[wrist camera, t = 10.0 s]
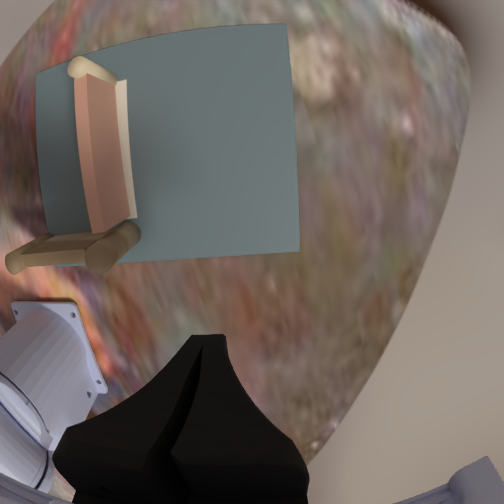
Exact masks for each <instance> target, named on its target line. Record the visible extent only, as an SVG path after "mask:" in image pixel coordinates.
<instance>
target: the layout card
mask: <svg viewBox="0 0 504 504" xmlns="http://www.w3.org/2000/svg"><path fill="white" fill-rule="evenodd" d="M82 57H84V58H86V59H88V60H90V61H92V62H94V63H96V64H98V65H100V66H102V67H103V68H105V69H107V70H109V71H111V72H113V73H114V74H116V75H117V78H118V81H117V84H116V85H115V92H116V107H117V119H118V130H119V139H120V148H121V156H122V164H123V172H124V179H125V185H126V192H127V198H128V204H129V210H130V215H131V216H130V217H128V218H127V219H125V220H123V221H122V222H120V223H118V224H117V225H115V226H114V227H112V228H110V229H109V230H112V229H113V230H114V229H116V228H118V227H119V226H121V225H122V224H124V223H126V222H133V223H135V224H137V225H138V227H139V228H140V230H141V239H140V241H139V242H138V243H137V244H136V245H135V246H134V247H132V248H131V249H130V250H129V251H128V252H127V253H126V254H125V255H124V256H123V257H122V258H121V259H120V260H118V261H117V262H116V263H129V262H145V261H160V260H175V259H191V258H206V257H221V256H236V255H251V254H266V253H281V252H296V251H300V237H299V199H298V173H297V152H296V134H295V118H294V104H293V90H292V78H291V66H290V55H289V45H288V35H287V26H286V24H259V25H237V26H224V27H213V28H204V29H196V30H189V31H182V32H176V33H170V34H165V35H159V36H154V37H150V38H145V39H140V40H136V41H132V42H128V43H124V44H120V45H116V46H113V47H109V48H106V49H102V50H99V51H96V52H93V53H90V54H87V55H84V56H82ZM70 62H71V60H69V61H67V62H64V63H61V64H59V65H56V66H54V67H51V68H49V69H47V70H44V71H42V72H40V73H37V74H36V101H35V114H36V143H37V157H38V169H39V178H40V186H41V194H42V201H43V207H44V214H45V219H46V225H47V230H48V233H51V234H53V235H54V236H59V235H67V234H76V233H85V232H92V229H91V224H90V219H89V214H88V209H87V204H86V198H85V192H84V186H83V179H82V172H81V165H80V157H79V148H78V139H77V128H76V114H75V95H74V77H71V76H69V74H68V72H67V68H68V65H69V63H70ZM82 265H86V263H75V264H61V265H55V266H56V267H66V266H82Z"/></svg>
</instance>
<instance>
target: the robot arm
mask: <svg viewBox="0 0 504 504" xmlns="http://www.w3.org/2000/svg"><path fill="white" fill-rule="evenodd" d="M11 308H12V311H13V314H14V316H15V319H16V322H17V323H16V324H14V325H13V326H12V327H11V328H10V329H9V330H8V331H7V332H6V333H5V334H4V335H3V336H2V337H1V338H0V504H308V499H307V490H308V485H309V473H308V470H307V467H306V464H305V462H304V460H303V458H302V456H301V454H300V453H299V451H298V449H297V448H296V446H295V444H294V443H293V441H292V440H291V439H290V438H289V437H287V436H286V435H285V434H284V433H282V432H281V431H280V430H279V429H278V428H277V427H276V426H275V425H274V424H272V423H271V422H270V421H269V420H268V419H267V418H266V416H265V415H264V414H263V413H262V412H261V411H260V410H259V408H258V407H257V406H256V405H255V404H254V402H253V401H252V400H251V398H250V397H249V396H248V394H247V393H246V391H245V390H244V388H243V386H242V385H241V383H240V381H239V379H238V377H237V375H236V374H235V371H234V369H233V367H232V364H231V362H230V359H229V357H228V349H227V342H226V336H225V335H223V334H211V335H191V336H190V337H189V339H188V340H187V341H186V342H185V344H184V345H183V346H182V347H181V348H180V350H179V351H178V352H177V353H176V355H175V356H174V357H173V358H172V359H171V360H170V361H169V362H168V364H167V365H166V366H165V367H164V368H163V369H162V370H161V371H160V372H159V373H158V374H157V375H156V376H155V377H154V378H153V379H152V380H151V381H150V382H149V383H147V384H146V385H145V386H144V387H143V388H141V389H140V390H139V391H137V392H136V393H135V394H133V395H132V396H130V397H129V398H127V399H126V400H124V401H123V402H121V403H120V404H118V405H117V406H115V407H113V408H111V409H109V410H108V411H106V412H104V413H102V414H100V415H98V416H95V417H93V418H91V419H88V420H86V421H85V419H86V417H87V415H88V413H89V411H90V409H91V407H92V405H93V403H94V401H95V399H96V397H97V395H98V393H103V394H105V393H107V391H108V387H107V385H106V383H105V380H104V378H103V376H102V373H101V371H100V368H99V366H98V364H97V361H96V358H95V356H94V353H93V351H92V348H91V345H90V342H89V340H88V337H87V334H86V331H85V328H84V325H83V322H82V319H81V316H80V313H79V310H78V307H77V305H76V304H75V303H74V302H35V301H13V302H12V303H11ZM72 312H73V313H74V314H75V315H74V314H73V313H72ZM52 450H55V451H54V453H53V454H52V453H51V451H52ZM55 467H56V469H57V470H58V472H59V473H60V474H61V475H62V476H63V477H64V478H65V479H66V480H67V482H68V483H69V484H70V485H71V486H72V487H73V488H74V489H75V490H76V492H75V495H74V498H73V501H72V503H71V502H68V501H65V500H63V499H60V498H57V497H54V496H52V495H49V494H47V493H48V492H49V490H50V488H51V486H52V484H53V481H54V477H55ZM394 504H504V482H503V481H502V479H501V477H500V475H499V474H498V472H497V470H496V469H495V467H494V465H493V464H492V462H491V460H490V459H489V457H488V456H485V457H483V458H481V459H479V460H477V461H475V462H473V463H471V464H469V465H467V466H465V467H463V468H462V469H460V470H459V471H457V472H456V473H455V474H454V475H453V476H452V477H451V478H450V480H449V482H448V483H447V484H444V485H442V486H440V487H437V488H435V489H432V490H430V491H428V492H425V493H423V494H420V495H417V496H415V497H412V498H409V499H406V500H403V501H400V502H397V503H394Z"/></svg>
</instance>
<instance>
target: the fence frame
mask: <svg viewBox="0 0 504 504" xmlns="http://www.w3.org/2000/svg"><path fill="white" fill-rule="evenodd" d="M140 239H141V230H140V228H139V227H138V225H137V224H135V223H133V222H126V223H124V224H122V225H121V226H119V227H118V228H116V229H114V230H113V229H112V230H107V231H106V232H101V233H95V234H92V232H85V233H76V234H67V235H59V236H54V235H53V234H51V233H46V234H44V235H42V236H40V237H38V238H37V239H35V240H33V241H31V242H29V243H27V244H25V245H23V246H21V247H20V248H18V249H16V250H14V251H12V252H10V253H9V254H7V255H6V257H5V265H6V267H7V269H8V271H9V272H10V273H11V274H14V275H16V274H18V273H19V272H21V271H22V270H24V269H25V268H27V267H31V266H46V265H61V264H75V263H86V265H87V266H88V268H89V269H90V270H91V271H92V272H94V273H97V274H103V273H105V272H107V271H108V270H109V269H110V268H111V267H112V266H113V265H114V264H115V263H116V262H117V261H118V260H120V259H121V258H122V257H123V256H124V255H125V254H126V253H127V252H128V251H129V250H130V249H131V248H132V247H134V246H135V245H136V244H137V243H138V242H139V241H140Z"/></svg>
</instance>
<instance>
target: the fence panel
mask: <svg viewBox="0 0 504 504" xmlns="http://www.w3.org/2000/svg"><path fill="white" fill-rule="evenodd" d="M67 72H68V74H69V76H71V77H74V95H75V114H76V128H77V139H78V148H79V157H80V165H81V172H82V179H83V186H84V192H85V198H86V204H87V209H88V214H89V219H90V224H91V229H92V234H95V233H101V232H106V231H107V230H109V229H110V228H112V227H114V226H115V225H117V224H118V223H120V222H122V221H123V220H125V219H127V218H128V217H130V216H131V215H130V210H129V204H128V198H127V192H126V185H125V179H124V172H123V164H122V156H121V148H120V139H119V130H118V119H117V107H116V92H115V85H116V84H117V81H118V78H117V75H116V74H114V73H113V72H111V71H109V70H107V69H105V68H103V67H102V66H100V65H98V64H96V63H94V62H92V61H90V60H88V59H86V58H84V57H82V56H77V57H75V58H74V59H72V60H71V62H70V63H69V65H68V68H67Z"/></svg>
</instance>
